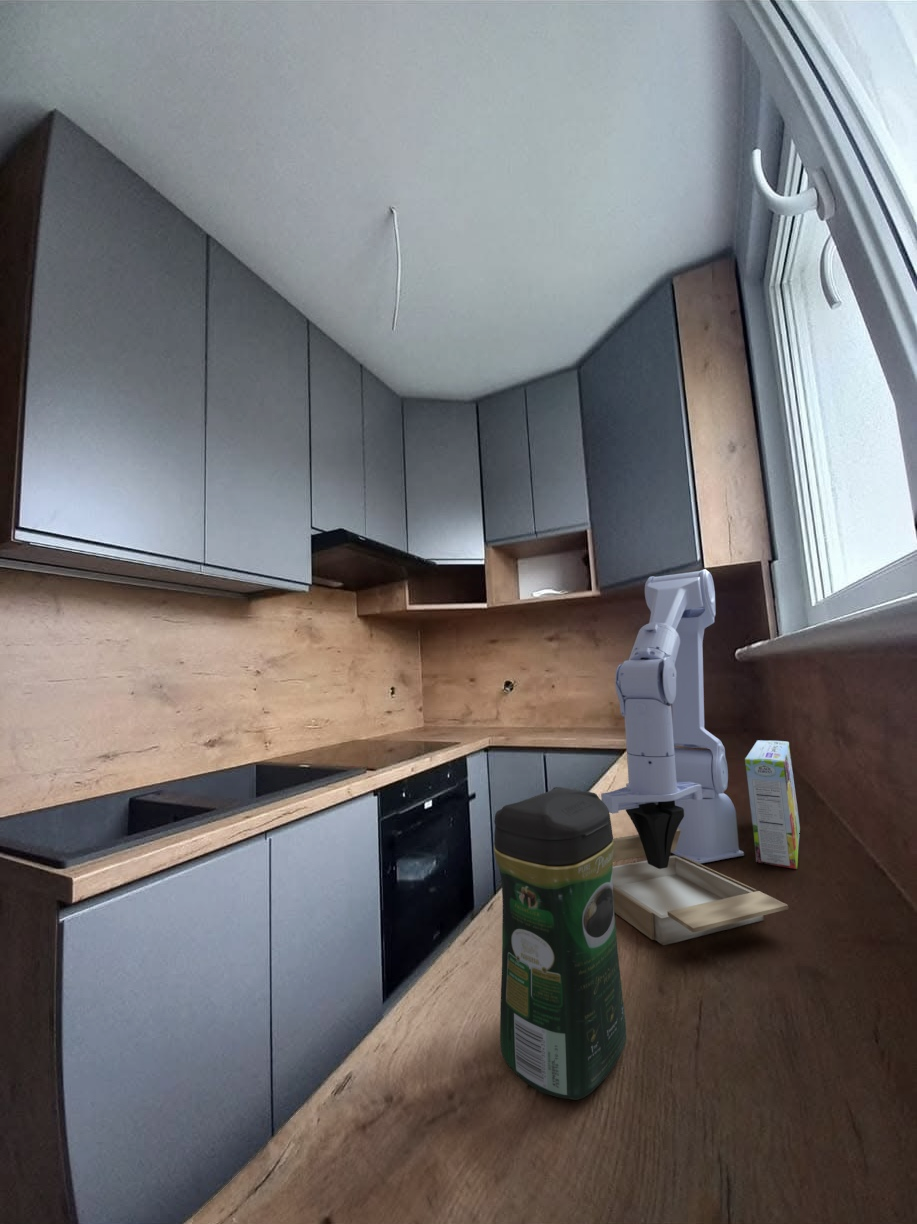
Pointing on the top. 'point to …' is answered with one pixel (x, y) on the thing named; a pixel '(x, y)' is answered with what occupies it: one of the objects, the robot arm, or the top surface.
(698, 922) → the flap
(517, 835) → the coffee jar
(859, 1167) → the top surface
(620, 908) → the carton
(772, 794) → the snack box
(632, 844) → the flap
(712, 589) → the robot arm
